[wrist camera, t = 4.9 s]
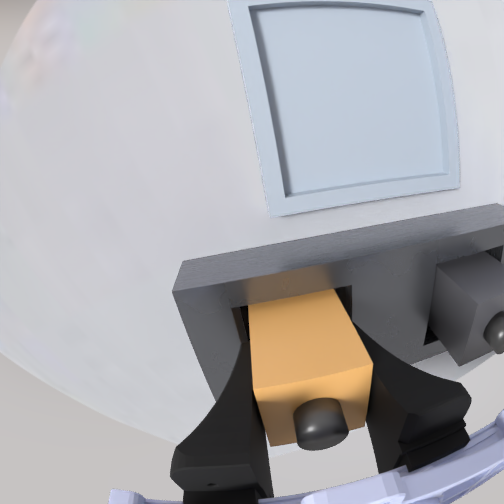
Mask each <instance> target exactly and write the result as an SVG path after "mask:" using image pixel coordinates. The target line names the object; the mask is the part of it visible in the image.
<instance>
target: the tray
mask: <svg viewBox="0 0 504 504" xmlns="http://www.w3.org/2000/svg"><path fill="white" fill-rule="evenodd" d="M227 5H228V10H229V14H230V19H231V23H232V28H233V33H234V37H235V42H236V47H237V52H238V56H239V61H240V66H241V71H242V76H243V81H244V86H245V91H246V96H247V101H248V106H249V111H250V116H251V121H252V126H253V132H254V137H255V142H256V147H257V153H258V158H259V164H260V169H261V174H262V180H263V186H264V191H265V197H266V202H267V208H268V213H269V216H270V218H274V217H279V216H285V215H290V214H296V213H302V212H307V211H313V210H319V209H325V208H331V207H336V206H342V205H349V204H355V203H361V202H367V201H373V200H380V199H386V198H393V197H399V196H406V195H413V194H420V193H427V192H434V191H441V190H449V189H456V188H460V164H459V141H458V128H457V117H456V108H455V100H454V93H453V86H452V80H451V74H450V69H449V64H448V59H447V54H446V50H445V45H444V41H443V37H442V33H441V29H440V26H439V22H438V18H437V15H436V12H435V9H434V5H433V2H432V1H430V0H227Z"/></svg>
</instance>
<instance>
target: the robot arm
mask: <svg viewBox="0 0 504 504" xmlns="http://www.w3.org/2000/svg"><path fill="white" fill-rule="evenodd" d="M351 322H352V324H353V326H354V327H355V329H356V331H357V333H358V335H359V337H360V339H361V341H362V343H363V345H364V347H365V349H366V351H367V353H368V355H369V356H370V358H371V360H372V362H373V370H372V379H371V387H370V394H369V402H368V408H367V415H366V423H367V427H368V430H369V433H370V437H371V441H372V445H373V449H374V453H375V458H376V462H377V467H378V472H379V474H378V475H375V476H372V477H368V478H365V479H362V480H358V481H355V482H351V483H347V484H343V485H339V486H335V487H331V488H326V489H323V490H317V491H312V492H307V493H302V494H296V495H290V496H282V497H275V498H274V494H273V488H272V480H271V473H270V466H269V458H268V450H267V442H266V433H265V427H264V424H263V421H262V417H261V414H260V411H259V407H258V404H257V401H256V397H255V394H254V390H253V378H252V362H251V346H250V342H244V343H242V344H241V345H240V349H239V353H238V356H237V359H236V362H235V365H234V367H233V370H232V372H231V375H230V377H229V379H228V381H227V383H226V385H225V387H224V389H223V391H222V393H221V395H220V397H219V398H218V400H217V401H216V403H215V405H214V406H213V407H212V409H211V410H210V412H209V413H208V414H207V416H206V417H205V418H204V420H203V421H202V422H201V423H200V424H199V425H198V426H197V427H196V429H195V430H194V431H193V432H192V433H191V434H190V435H189V436H188V437H187V438H186V439H184V440H183V441H182V442H181V443H180V444H179V445H178V446H177V447H176V449H175V451H174V455H173V458H172V463H171V471H170V477H171V479H172V480H173V481H174V482H175V483H176V484H177V485H178V486H179V487H181V488H182V489H183V490H184V496H183V501H165V500H164V501H163V500H152V499H145V498H144V497H143V496H142V495H140V494H139V493H136V492H132V491H124V490H118V489H111V493H110V498H109V503H108V504H450V503H452V502H454V501H455V500H457V499H459V498H461V497H462V496H464V495H466V494H467V493H469V492H470V491H472V490H474V489H475V488H477V487H478V486H480V485H482V484H483V483H485V482H486V481H488V480H489V479H490V478H492V477H493V476H495V475H496V474H498V473H499V472H501V471H502V470H503V469H504V409H503V410H502V411H501V412H500V413H499V415H498V416H497V418H496V419H495V421H494V422H492V423H490V424H489V425H487V426H485V427H484V428H482V429H480V430H478V431H477V432H475V433H473V434H471V435H470V436H469V435H468V434H467V432H466V430H465V428H464V427H465V426H466V423H465V421H464V420H463V418H464V416H465V414H466V413H467V411H468V409H469V407H470V404H471V397H470V395H469V394H468V392H467V391H466V389H465V388H464V387H463V385H462V384H461V383H459V382H455V381H451V380H447V379H443V378H440V377H437V376H434V375H431V374H429V373H426V372H424V371H422V370H419V369H417V368H415V367H413V366H411V365H409V364H407V363H406V362H404V361H402V360H400V359H399V358H397V357H396V356H394V355H393V354H391V353H390V352H389V351H387V350H386V349H384V348H383V347H382V346H381V345H379V344H378V343H377V342H376V341H374V340H373V339H372V338H371V337H370V336H368V335H367V334H366V333H365V332H364V331H363V330H362V329H361V328H360V327H359V326H357V325H356V324H355V323H354V322H353V321H351Z"/></svg>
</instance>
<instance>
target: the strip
mask: <svg viewBox="0 0 504 504" xmlns="http://www.w3.org/2000/svg"><path fill="white" fill-rule="evenodd" d="M481 251H485V252H487V253H488V254H490V255H491V256H492V257H494V258H495V259H497V260H498V261H499V262H501V263H502V264H504V206H502V205H500V204H497V203H496V204H491V205H485V206H480V207H474V208H469V209H463V210H457V211H452V212H446V213H441V214H435V215H430V216H424V217H419V218H413V219H408V220H402V221H397V222H391V223H386V224H380V225H375V226H370V227H364V228H359V229H353V230H348V231H342V232H337V233H332V234H326V235H321V236H315V237H310V238H305V239H299V240H294V241H289V242H283V243H278V244H272V245H267V246H262V247H256V248H251V249H246V250H240V251H235V252H230V253H224V254H219V255H214V256H209V257H203V258H198V259H193V260H187V261H183V262H182V265H181V267H180V270H179V273H178V276H177V279H176V281H175V284H174V287H173V290H172V293H173V296H174V299H175V302H176V304H177V307H178V310H179V313H180V315H181V318H182V321H183V323H184V326H185V329H186V331H187V334H188V336H189V339H190V341H191V344H192V346H193V349H194V351H195V354H196V356H197V359H198V361H199V364H200V366H201V368H202V371H203V373H204V376H205V378H206V380H207V383H208V385H209V387H210V389H211V392H212V394H213V396H214V398H215V401H217V400H218V398H219V397H220V395H221V393H222V391H223V389H224V387H225V385H226V383H227V381H228V379H229V377H230V375H231V372H232V370H233V367H234V365H235V362H236V359H237V356H238V353H239V349H240V345H241V344H242V343H244V342H248V338H247V334H246V330H245V326H244V323H243V319H242V315H241V311H240V306H246V305H252V304H257V303H263V302H268V301H274V300H279V299H284V298H290V297H295V296H300V295H305V294H310V293H315V292H320V291H324V290H329V289H334V288H335V291H336V294H337V296H338V298H339V299H340V301H341V303H342V305H343V307H344V309H345V311H346V312H347V314H348V316H349V318H350V320H351V321H353V322H354V323H355V324H356V325H357V326H359V327H360V328H361V329H362V330H363V331H364V332H365V333H366V334H367V335H368V336H370V337H371V338H372V339H373V340H374V341H376V342H377V343H378V344H379V345H381V346H382V347H383V348H384V349H386V350H387V351H389V352H390V353H391V354H393V355H394V356H396V357H397V358H399V359H400V360H402V361H404V362H406V363H407V364H409V365H410V364H413V363H416V362H419V361H422V360H424V359H427V358H430V357H432V356H435V355H438V354H440V353H443V352H445V351H447V349H446V348H445V347H444V345H443V344H442V343H441V341H440V340H439V339H438V338H437V336H436V335H435V334H434V332H433V331H432V330H431V328H430V327H429V326H428V325H427V324H428V319H429V313H430V307H431V301H432V295H433V287H434V280H435V271H436V264H438V263H442V262H446V261H450V260H453V259H457V258H460V257H464V256H468V255H471V254H475V253H478V252H481Z"/></svg>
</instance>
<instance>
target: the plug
mask: <svg viewBox="0 0 504 504" xmlns="http://www.w3.org/2000/svg"><path fill="white" fill-rule="evenodd" d="M248 312H249V329H250V346H251V362H252V378H253V390H254V394H255V397H256V401H257V404H258V407H259V411H260V414H261V417H262V421H263V424H264V427H265V430H266V434H267V437H268V440H269V443H270V447H272V446H279V445H285V444H291V443H297V444H298V446H299V447H300V448H302V449H305V450H312V451H315V450H323V449H327V448H330V447H333V446H335V445H337V444H339V443H340V442H342V441H343V440H344V439H345V438H346V437H347V435H348V433H349V431H350V430H354V429H357V428H361V427H364V426H365V421H366V415H367V408H368V402H369V394H370V387H371V379H372V370H373V362H372V360H371V358H370V356H369V355H368V353H367V351H366V349H365V347H364V345H363V343H362V341H361V339H360V337H359V335H358V333H357V331H356V329H355V327H354V326H353V324H352V322H351V320H350V318H349V316H348V314H347V312H346V311H345V309H344V307H343V305H342V303H341V301H340V299H339V298H338V296H337V294H336V292H335V290H334V289H329V290H324V291H320V292H315V293H310V294H305V295H300V296H295V297H290V298H284V299H279V300H274V301H268V302H263V303H257V304H252V305H248Z"/></svg>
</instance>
